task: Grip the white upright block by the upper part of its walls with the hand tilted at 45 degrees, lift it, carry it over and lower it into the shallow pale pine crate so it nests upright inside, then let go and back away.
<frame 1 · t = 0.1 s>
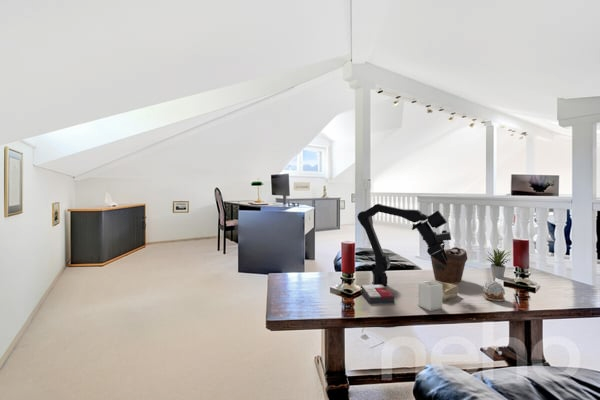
hand: (446, 262, 141), 15 cm above the table, tool tilted 35°, fingers open, 9 cm apart
house plant: (500, 277, 168), on the table
white upright block: (430, 307, 126), on the table
brown flower pot: (448, 280, 164), on the table
red and white box: (376, 298, 139), on the table
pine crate: (438, 294, 141), on the table
decorative ornament: (493, 299, 135), on the table
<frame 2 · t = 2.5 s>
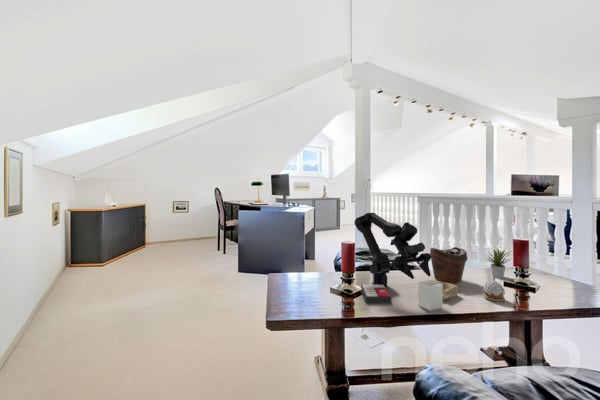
hand: (421, 277, 130), 11 cm above the table, tool tilted 45°, fingers open, 9 cm apart
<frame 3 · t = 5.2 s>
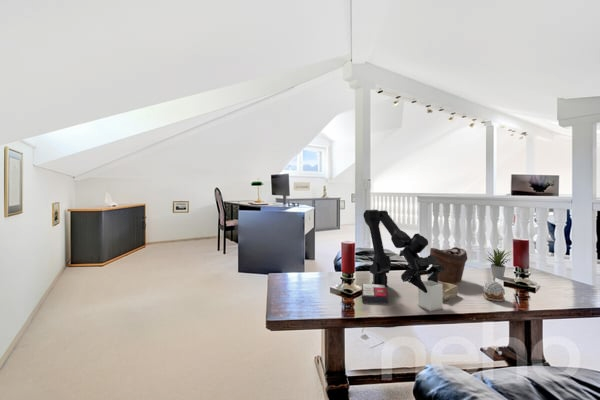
hand: (432, 291, 125), 7 cm above the table, tool tilted 45°, fingers closed on white upright block, 6 cm apart
white upright block: (430, 307, 126), on the table, touching gripper
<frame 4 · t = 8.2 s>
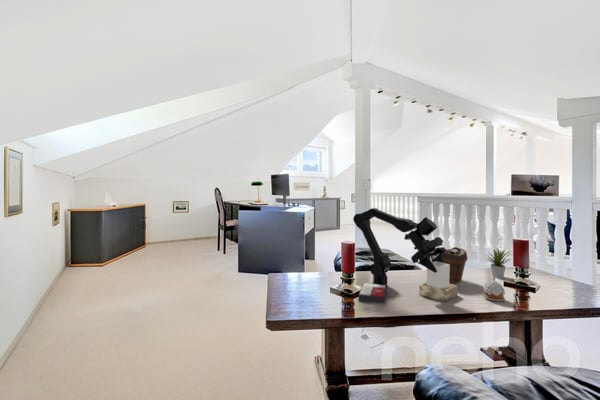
hand: (441, 271, 132), 13 cm above the table, tool tilted 45°, fingers closed on white upright block, 6 cm apart
white upright block: (437, 286, 134), point 6 cm above the table, touching gripper
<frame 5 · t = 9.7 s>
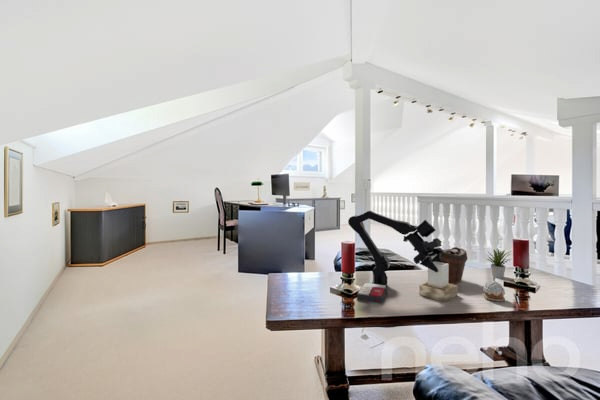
hand: (441, 270, 139), 12 cm above the table, tool tilted 45°, fingers closed on white upright block, 6 cm apart
white upright block: (438, 285, 141), point 5 cm above the table, touching gripper
when the fingers open (9 cm above the table, at t = 11.2 s): white upright block stays where it is, resting on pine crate.
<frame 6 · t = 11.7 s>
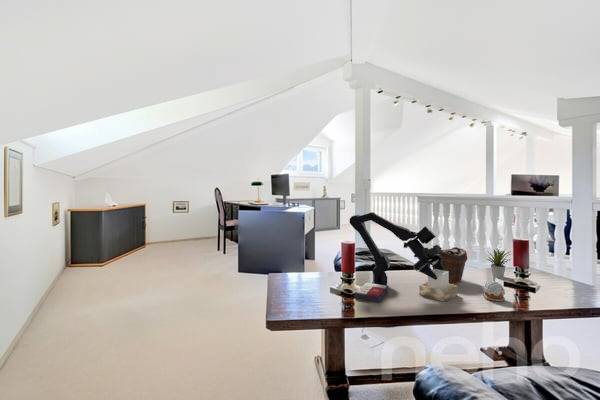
hand: (441, 277, 140), 9 cm above the table, tool tilted 45°, fingers open, 9 cm apart
white upright block: (438, 292, 141), point 1 cm above the table, touching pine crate
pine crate: (438, 294, 141), on the table, touching white upright block
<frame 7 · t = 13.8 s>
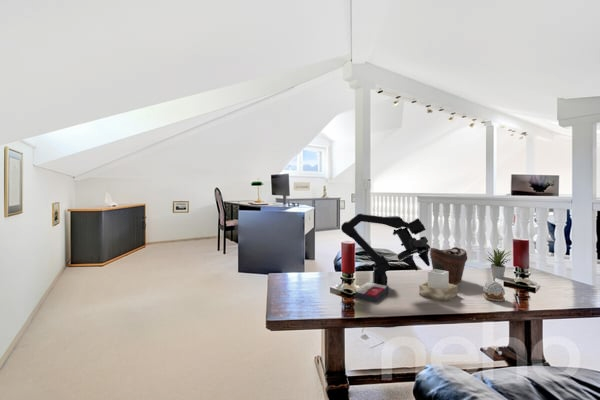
hand: (423, 268, 146), 11 cm above the table, tool tilted 35°, fingers open, 9 cm apart
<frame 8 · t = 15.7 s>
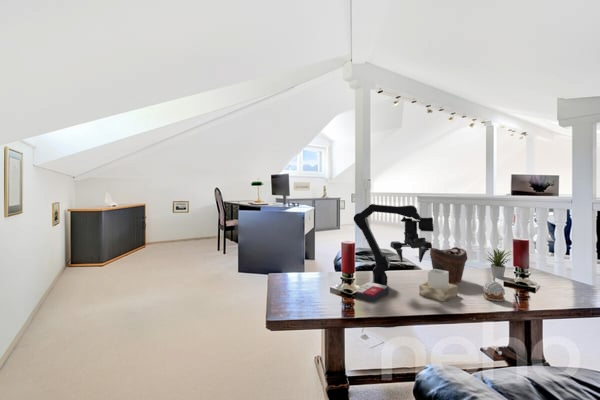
hand: (410, 262, 150), 13 cm above the table, tool pointing down, fingers open, 9 cm apart
at the end: white upright block 0.0 cm off-centre on the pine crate, point 1.0 cm above the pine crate's base; white upright block tilted 0°; the gripper is holding nothing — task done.
